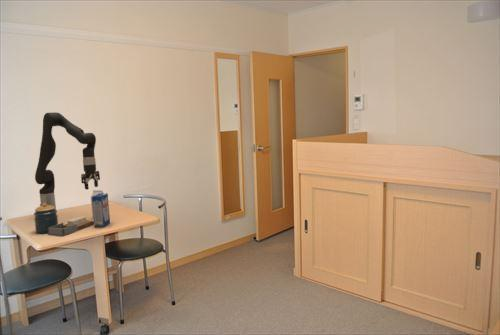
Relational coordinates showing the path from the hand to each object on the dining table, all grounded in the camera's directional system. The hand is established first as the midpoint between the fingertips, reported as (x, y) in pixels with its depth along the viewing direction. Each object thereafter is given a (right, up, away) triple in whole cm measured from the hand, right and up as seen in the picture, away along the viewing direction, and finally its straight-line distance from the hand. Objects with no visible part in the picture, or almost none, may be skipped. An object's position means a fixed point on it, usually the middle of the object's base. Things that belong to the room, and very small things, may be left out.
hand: (91, 188), depth 262 cm
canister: (-22, -26, -14) cm, 37 cm away
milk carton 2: (+9, -24, -6) cm, 26 cm away
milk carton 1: (0, -21, +15) cm, 26 cm away
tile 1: (-7, -22, -11) cm, 26 cm away
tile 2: (-5, -22, -6) cm, 23 cm away
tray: (-10, -26, -19) cm, 34 cm away
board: (-5, -24, -8) cm, 26 cm away
